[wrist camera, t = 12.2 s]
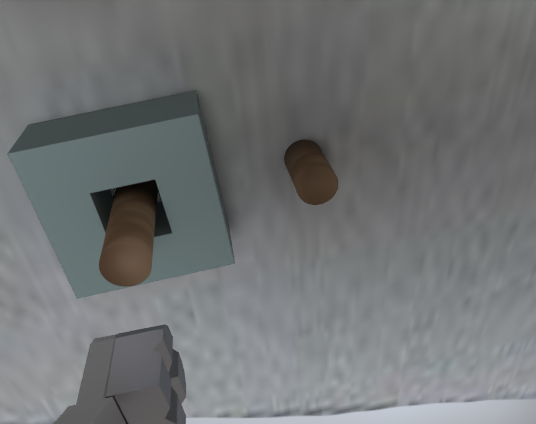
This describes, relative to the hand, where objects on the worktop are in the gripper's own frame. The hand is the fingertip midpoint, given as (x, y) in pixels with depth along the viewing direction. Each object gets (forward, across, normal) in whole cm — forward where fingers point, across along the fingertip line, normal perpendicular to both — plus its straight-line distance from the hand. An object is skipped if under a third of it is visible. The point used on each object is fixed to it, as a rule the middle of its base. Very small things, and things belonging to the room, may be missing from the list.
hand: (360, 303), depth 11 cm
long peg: (+28, +10, +9) cm, 31 cm away
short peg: (+28, -3, +10) cm, 30 cm away
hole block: (+28, +10, +9) cm, 31 cm away
